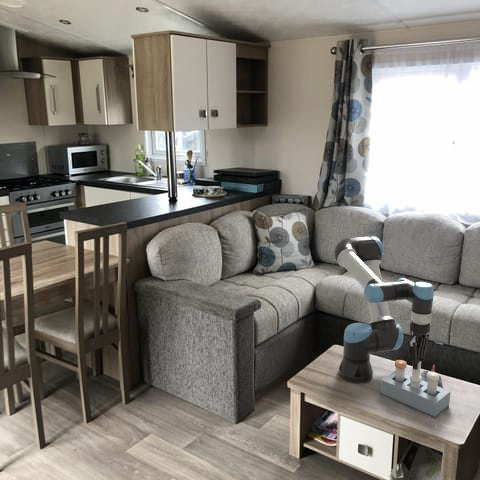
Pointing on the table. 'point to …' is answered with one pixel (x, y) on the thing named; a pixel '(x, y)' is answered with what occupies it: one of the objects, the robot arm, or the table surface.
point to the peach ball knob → (400, 370)
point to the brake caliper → (424, 378)
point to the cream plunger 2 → (432, 383)
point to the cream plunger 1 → (415, 381)
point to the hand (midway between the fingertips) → (415, 375)
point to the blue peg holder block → (415, 395)
